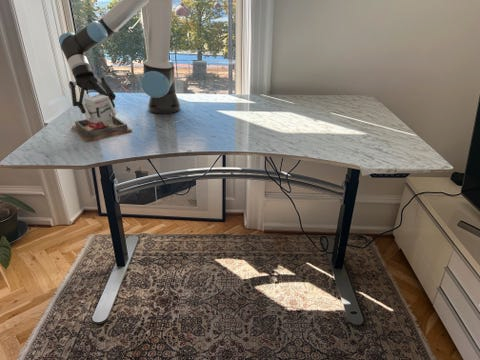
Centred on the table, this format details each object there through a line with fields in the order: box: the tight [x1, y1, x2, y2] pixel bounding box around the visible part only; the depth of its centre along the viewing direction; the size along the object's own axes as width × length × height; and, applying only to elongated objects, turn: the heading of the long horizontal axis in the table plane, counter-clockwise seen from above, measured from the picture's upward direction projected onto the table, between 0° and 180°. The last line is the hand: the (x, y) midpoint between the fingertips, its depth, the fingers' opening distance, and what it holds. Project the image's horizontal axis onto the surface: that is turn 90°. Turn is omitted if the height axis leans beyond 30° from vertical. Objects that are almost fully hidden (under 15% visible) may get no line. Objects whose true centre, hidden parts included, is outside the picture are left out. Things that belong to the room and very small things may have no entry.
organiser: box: [71, 113, 133, 142], centre depth 140 cm, size 18×18×3 cm
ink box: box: [83, 93, 113, 129], centre depth 137 cm, size 8×5×12 cm, turn 153°
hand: (102, 117), depth 136 cm, fingers closed on ink box, 9 cm apart
